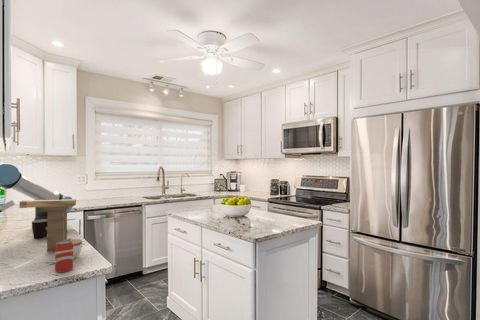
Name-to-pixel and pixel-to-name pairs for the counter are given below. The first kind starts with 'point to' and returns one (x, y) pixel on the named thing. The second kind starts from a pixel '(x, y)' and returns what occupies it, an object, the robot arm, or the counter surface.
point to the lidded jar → (76, 246)
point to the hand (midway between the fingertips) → (7, 204)
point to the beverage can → (64, 256)
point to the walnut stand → (55, 225)
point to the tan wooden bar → (47, 203)
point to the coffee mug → (39, 228)
